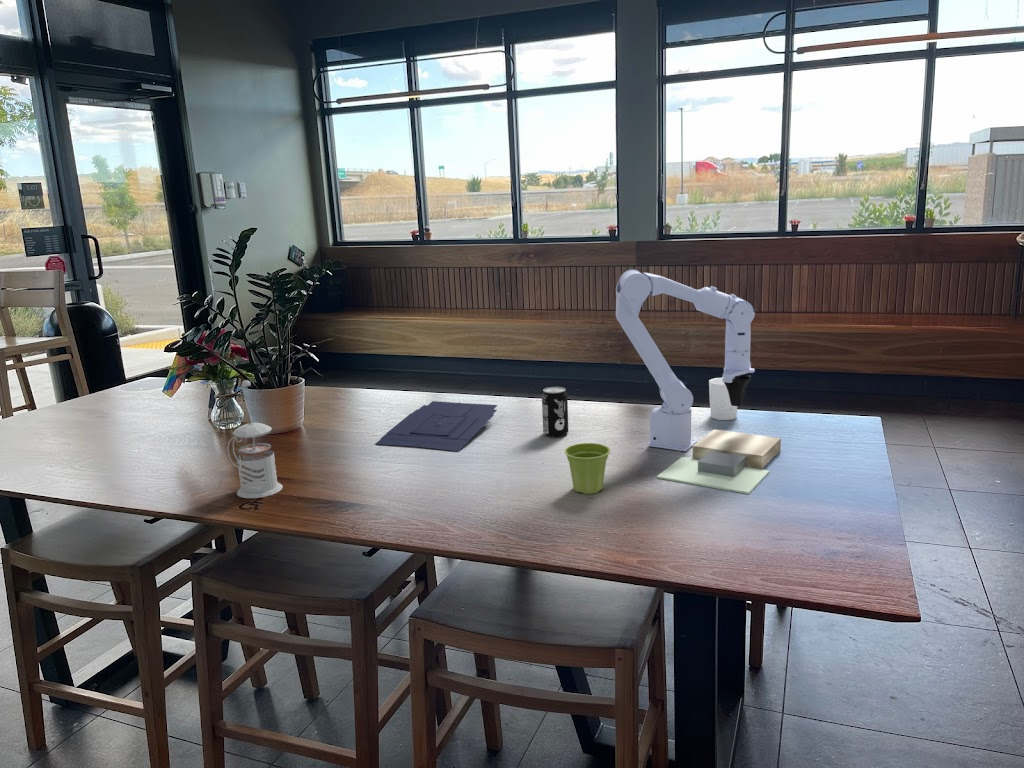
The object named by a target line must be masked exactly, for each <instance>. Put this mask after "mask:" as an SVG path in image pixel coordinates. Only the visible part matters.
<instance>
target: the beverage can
mask: <svg viewBox="0 0 1024 768" xmlns="http://www.w3.org/2000/svg"><path fill="white" fill-rule="evenodd" d="M542 390H543V392H542V394H541V409H542V411H541V413H542V432H543V434H544V435H545V436H547V437H549V438H561V437H566V436H567V434H568V433H569V410H568V408H569V406H568V399H569V398H568V393H567V392H566V388H565V387H561V386H549V387H545V388H544V389H542Z"/></svg>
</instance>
